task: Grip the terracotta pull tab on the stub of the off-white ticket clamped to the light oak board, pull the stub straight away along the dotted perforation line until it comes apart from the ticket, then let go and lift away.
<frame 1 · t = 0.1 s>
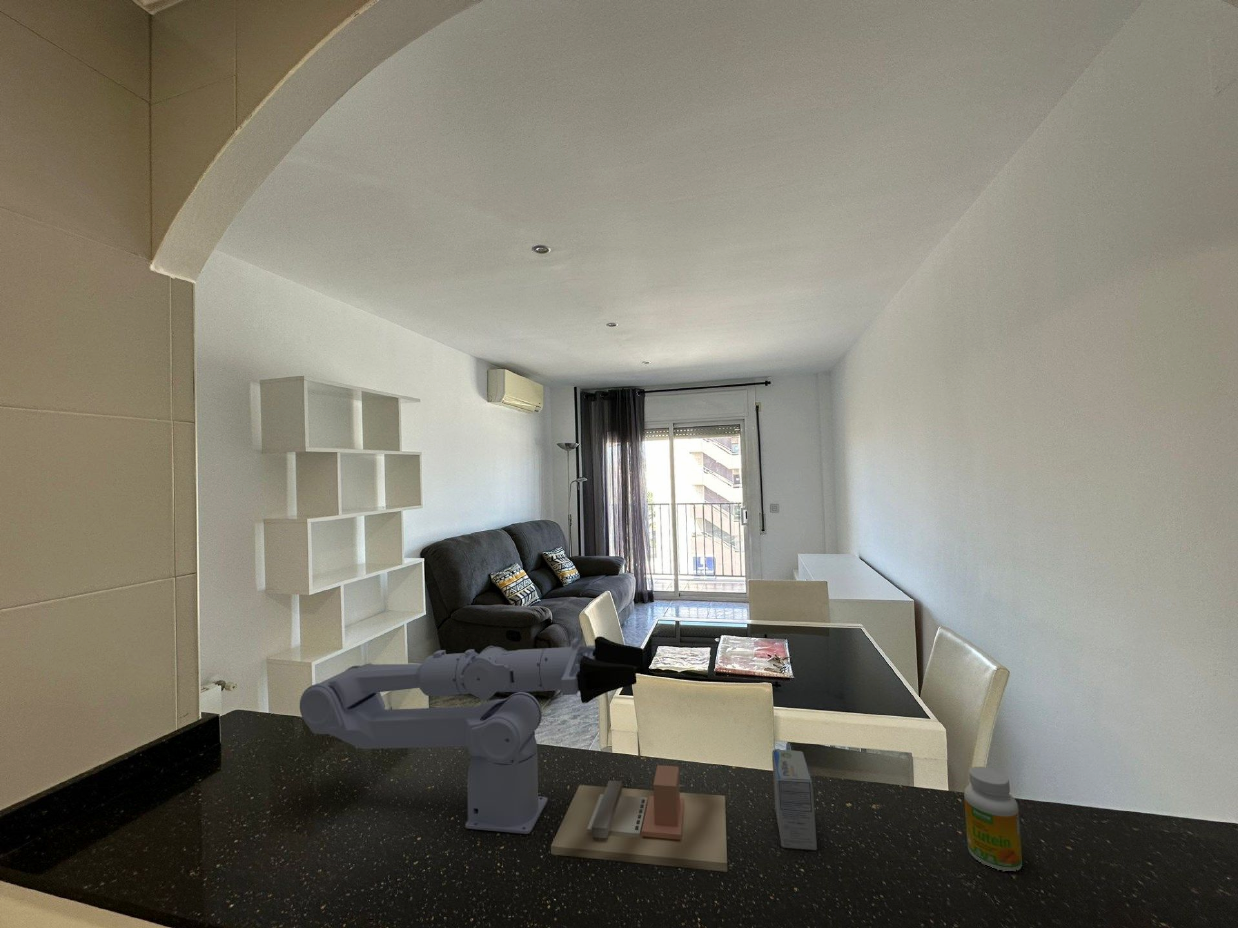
hand: (639, 664, 72), 22 cm above the kitchen counter, tool horizontal, fingers open, 7 cm apart
stub: (663, 796, 70), point 4 cm above the kitchen counter, slide at 0.0 cm
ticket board: (644, 826, 70), on the kitchen counter
medicine box: (794, 832, 69), on the kitchen counter
supplement bottle: (994, 859, 62), on the kitchen counter
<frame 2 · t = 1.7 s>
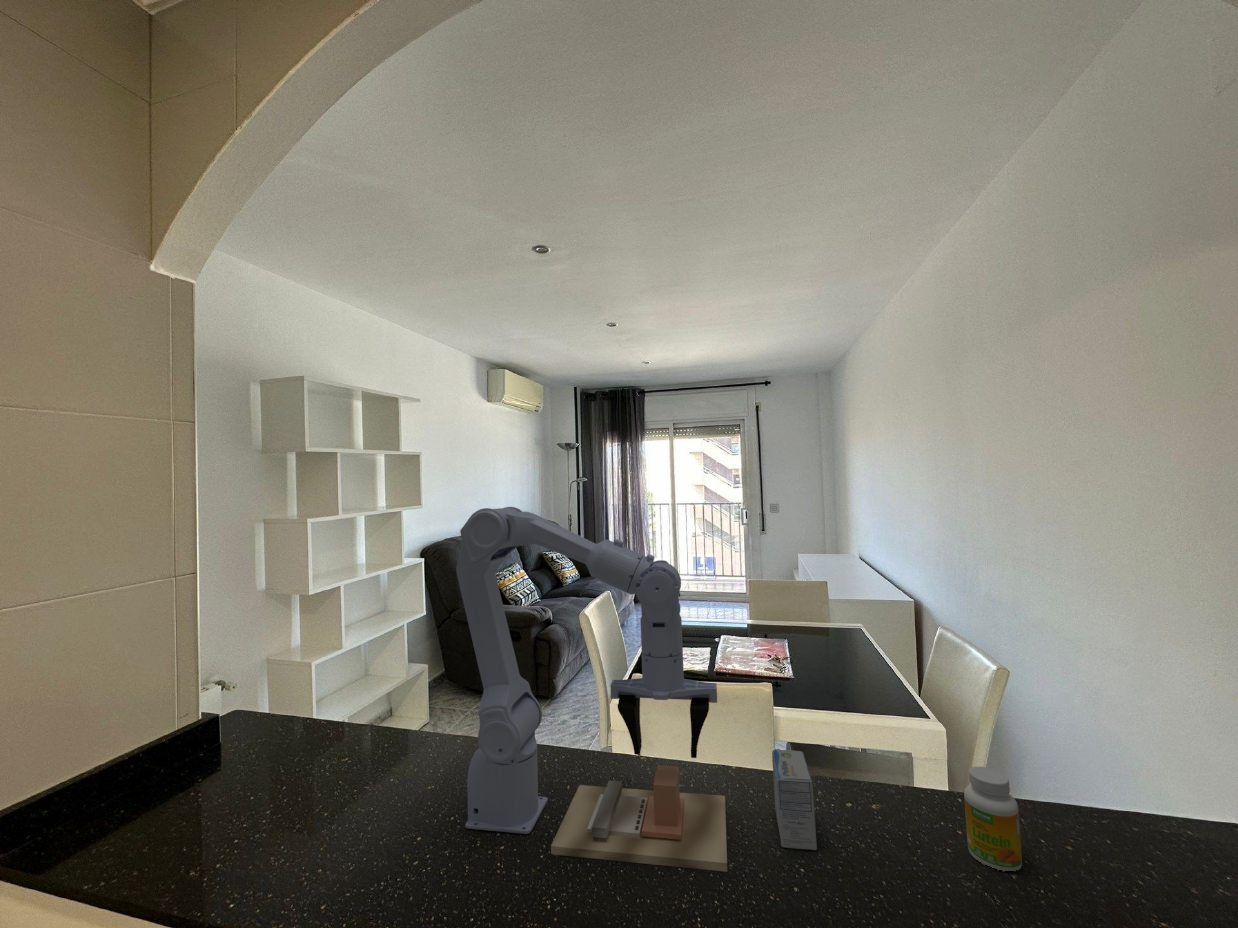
hand: (665, 752, 70), 10 cm above the kitchen counter, tool pointing down, fingers open, 7 cm apart
nothing on the kitchen counter moved.
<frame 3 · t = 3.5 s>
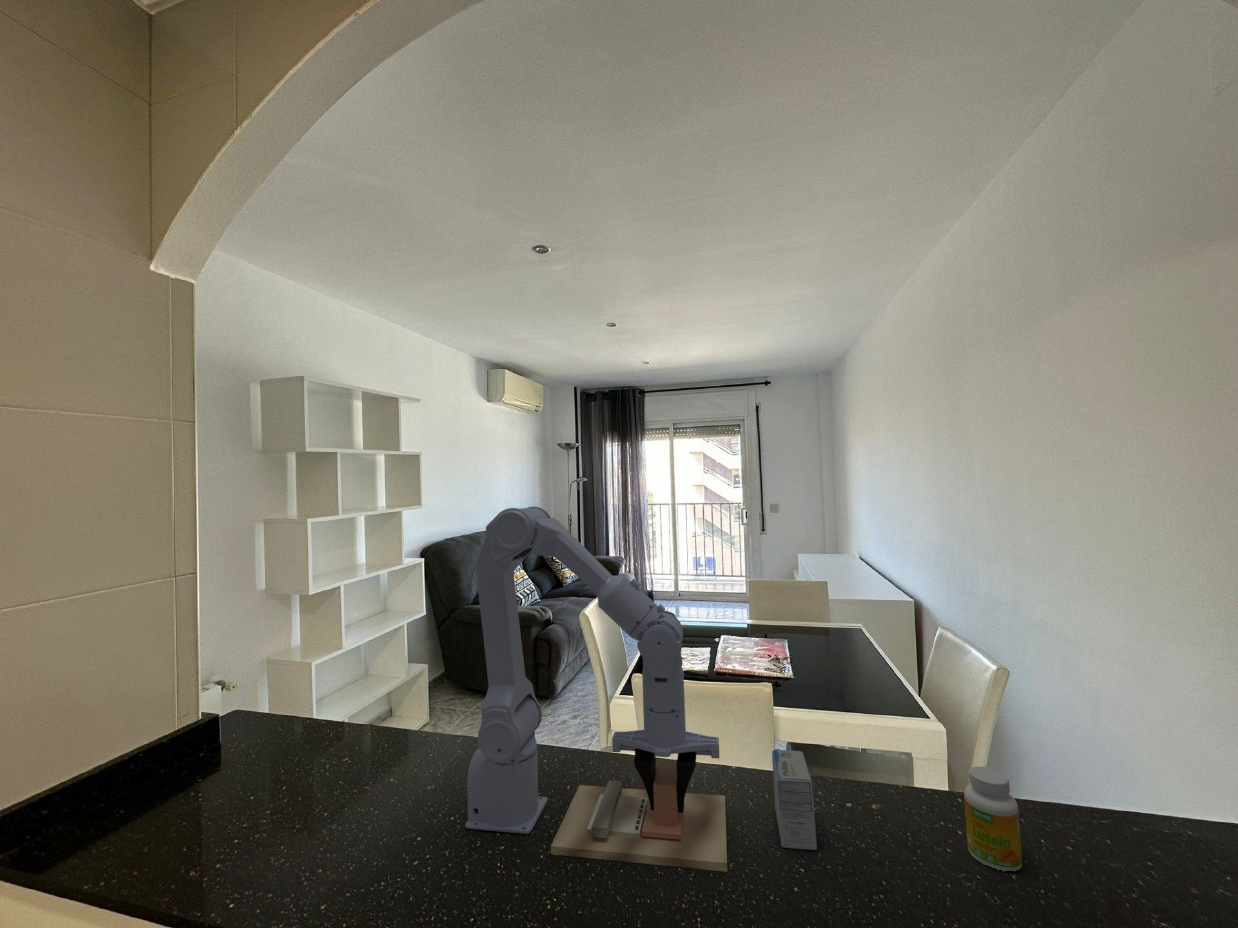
hand: (667, 807, 70), 3 cm above the kitchen counter, tool pointing down, fingers closed on stub, 3 cm apart
stub: (663, 796, 70), point 4 cm above the kitchen counter, slide at 0.0 cm, touching gripper
everything else where it was.
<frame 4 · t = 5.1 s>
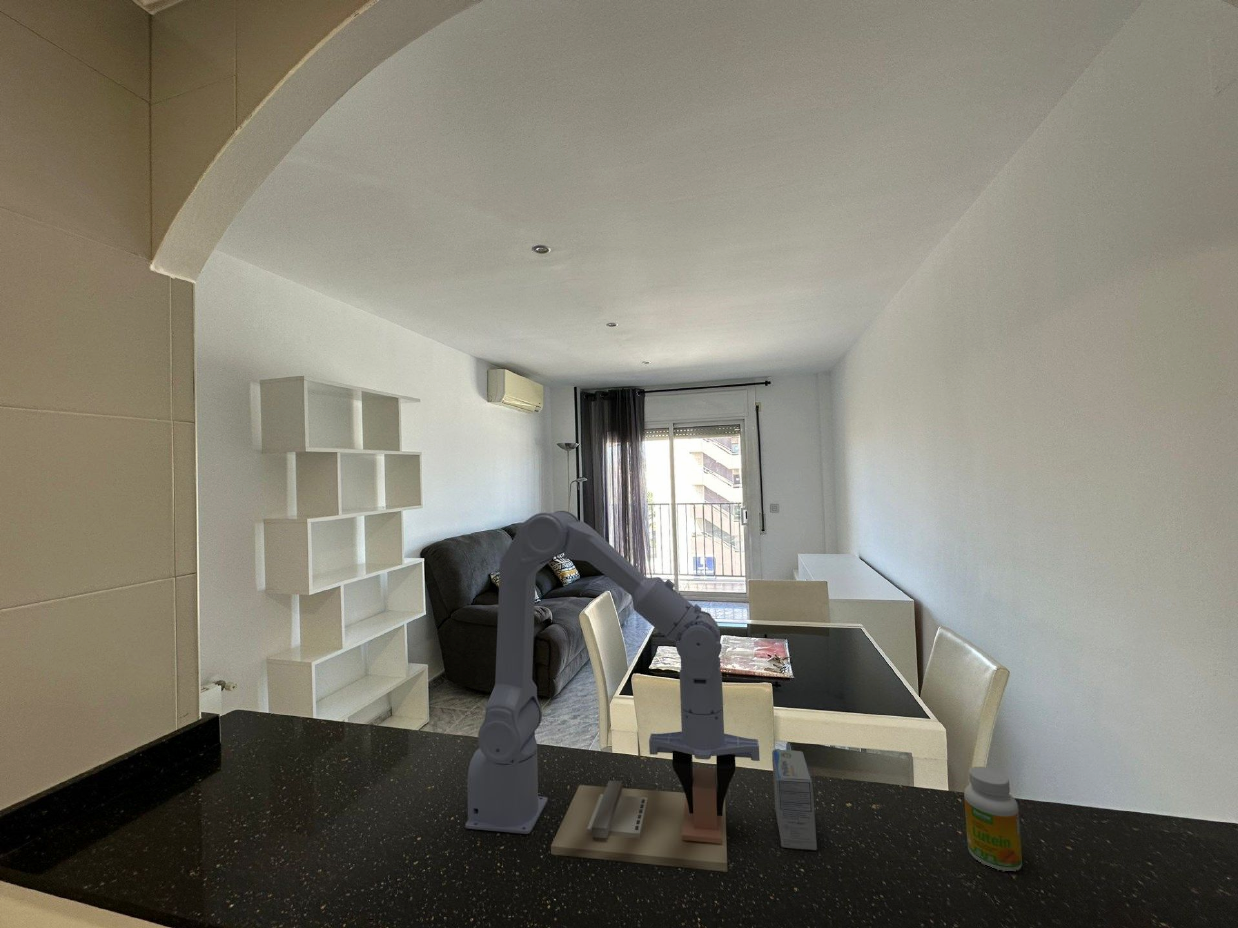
hand: (705, 810, 69), 3 cm above the kitchen counter, tool pointing down, fingers closed on stub, 3 cm apart
stub: (701, 799, 69), point 4 cm above the kitchen counter, slide at 5.1 cm, touching gripper
everything else where it was.
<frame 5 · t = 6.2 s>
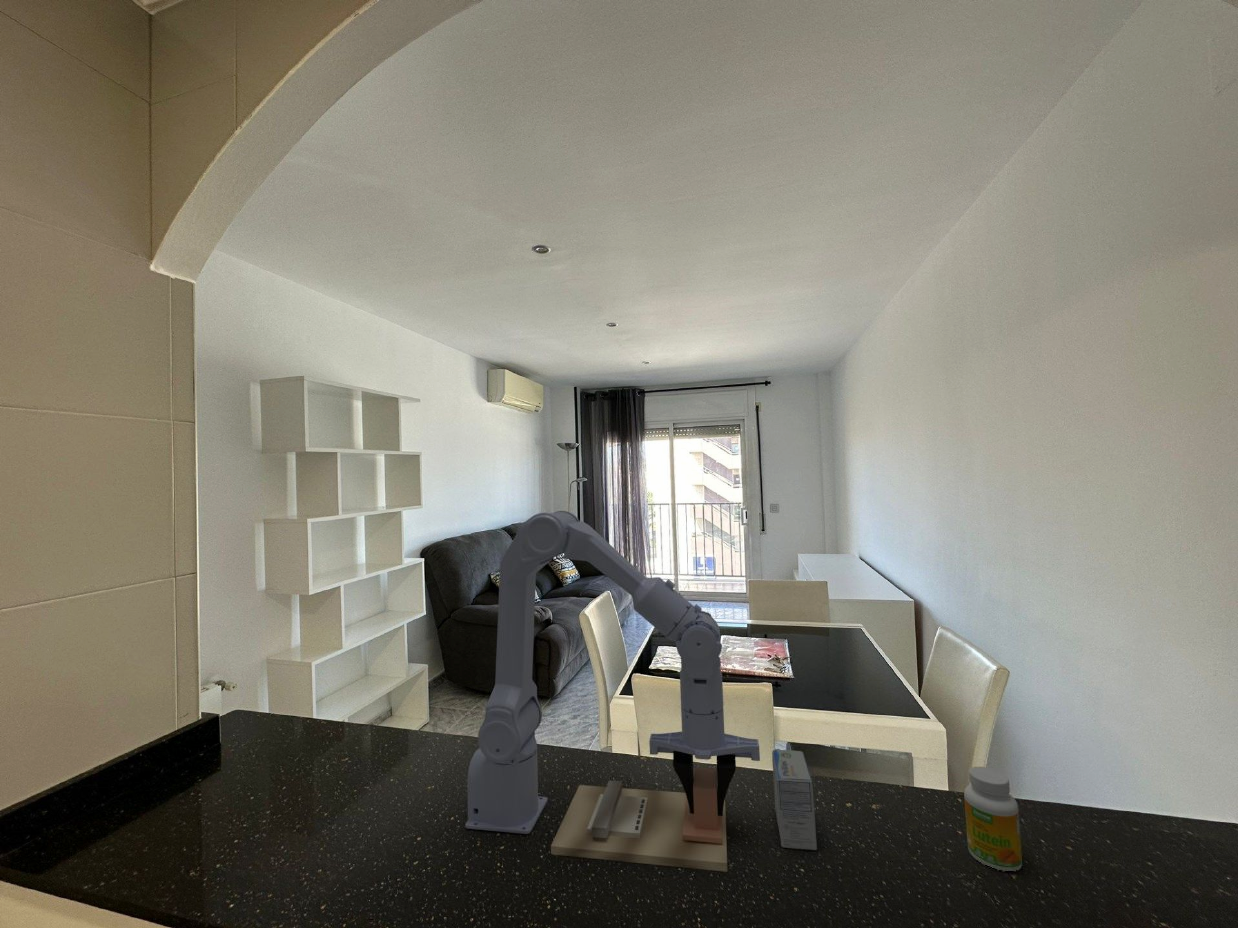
hand: (706, 810, 69), 3 cm above the kitchen counter, tool pointing down, fingers closed on stub, 3 cm apart
stub: (702, 799, 69), point 4 cm above the kitchen counter, slide at 5.2 cm, touching gripper
everything else where it was.
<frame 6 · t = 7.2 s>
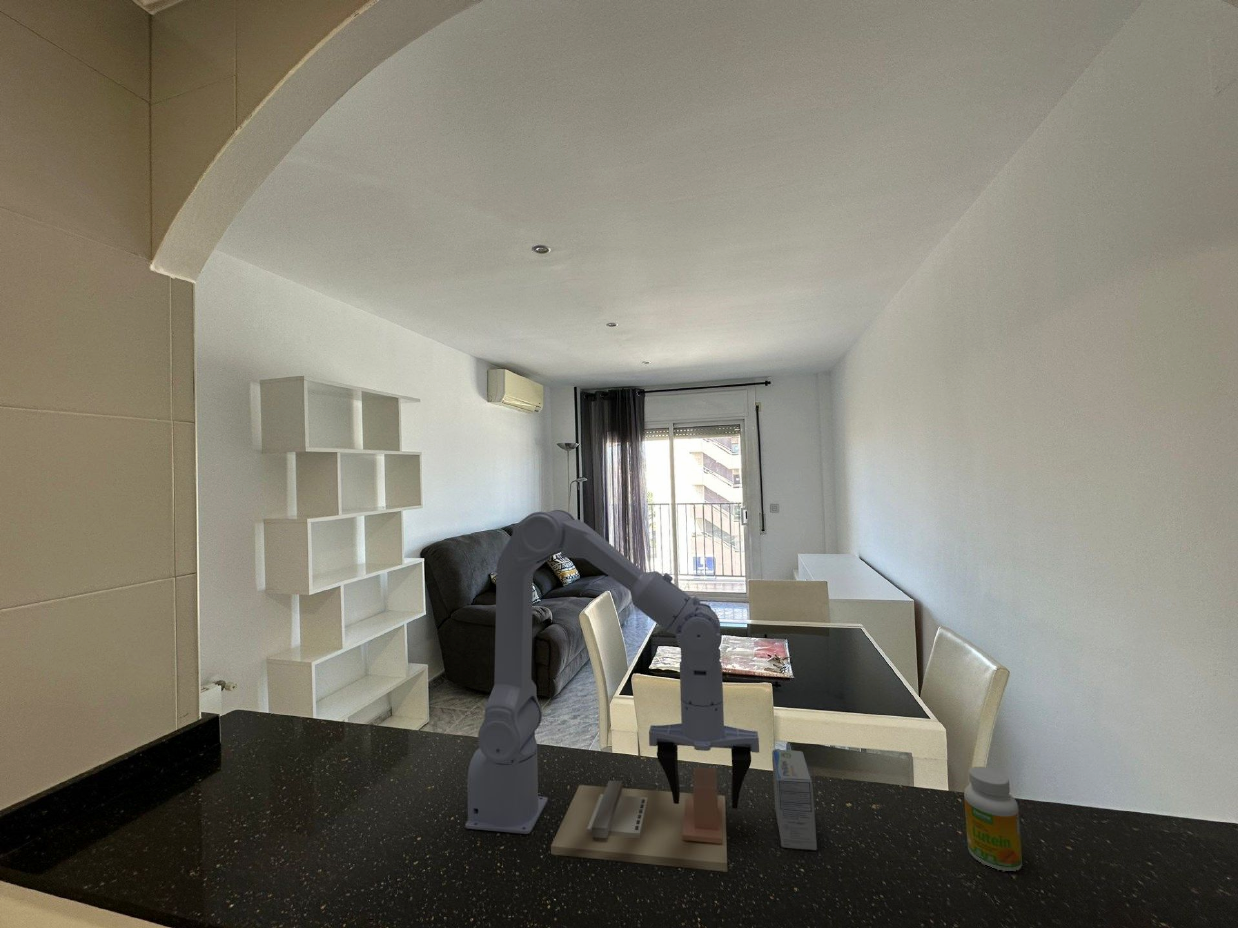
hand: (705, 801, 69), 4 cm above the kitchen counter, tool pointing down, fingers open, 7 cm apart
stub: (702, 799, 69), point 4 cm above the kitchen counter, slide at 5.2 cm
everything else where it was.
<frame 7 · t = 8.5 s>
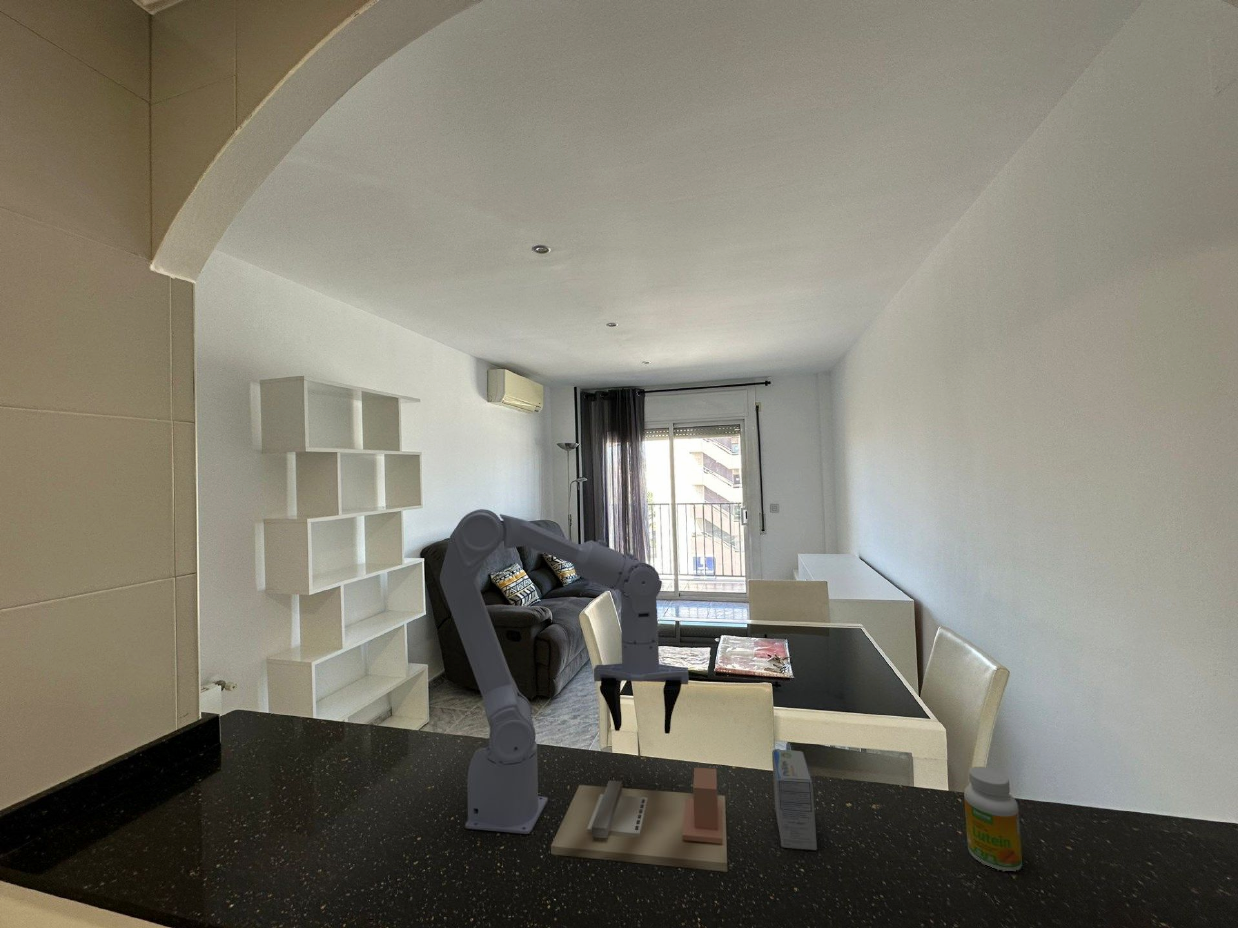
hand: (642, 729, 79), 9 cm above the kitchen counter, tool pointing down, fingers open, 7 cm apart
nothing on the kitchen counter moved.
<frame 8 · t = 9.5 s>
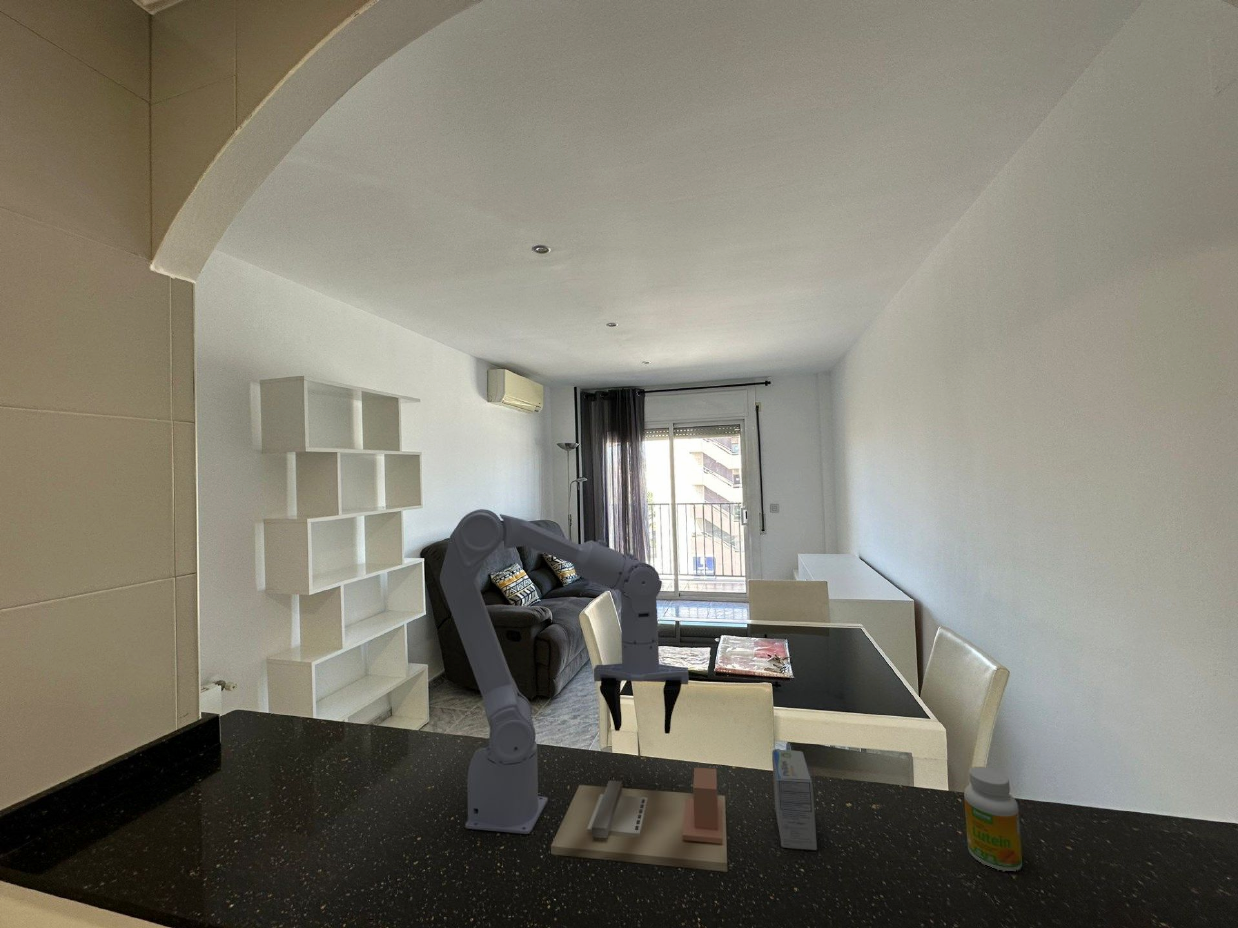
hand: (642, 729, 79), 9 cm above the kitchen counter, tool pointing down, fingers open, 7 cm apart
nothing on the kitchen counter moved.
at the end: stub slide at 5.2 cm; the gripper is holding nothing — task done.
